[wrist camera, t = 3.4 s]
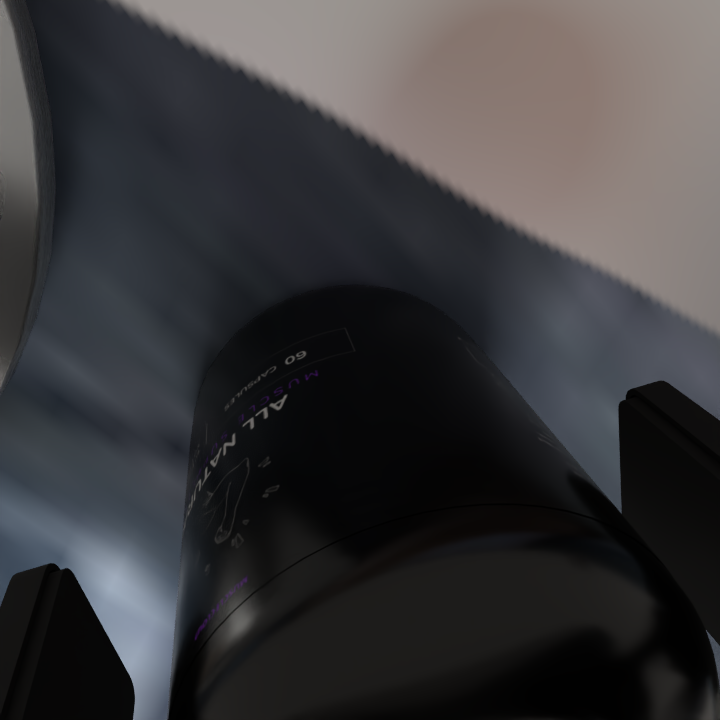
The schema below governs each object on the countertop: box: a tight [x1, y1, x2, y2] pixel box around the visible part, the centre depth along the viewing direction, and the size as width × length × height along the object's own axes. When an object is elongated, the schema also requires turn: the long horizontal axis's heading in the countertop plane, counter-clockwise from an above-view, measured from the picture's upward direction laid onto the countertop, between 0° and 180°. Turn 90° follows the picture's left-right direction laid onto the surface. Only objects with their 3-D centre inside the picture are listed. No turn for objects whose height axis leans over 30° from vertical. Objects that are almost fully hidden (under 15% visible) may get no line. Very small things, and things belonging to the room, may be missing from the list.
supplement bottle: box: [167, 285, 720, 720], centre depth 10 cm, size 7×7×12 cm
